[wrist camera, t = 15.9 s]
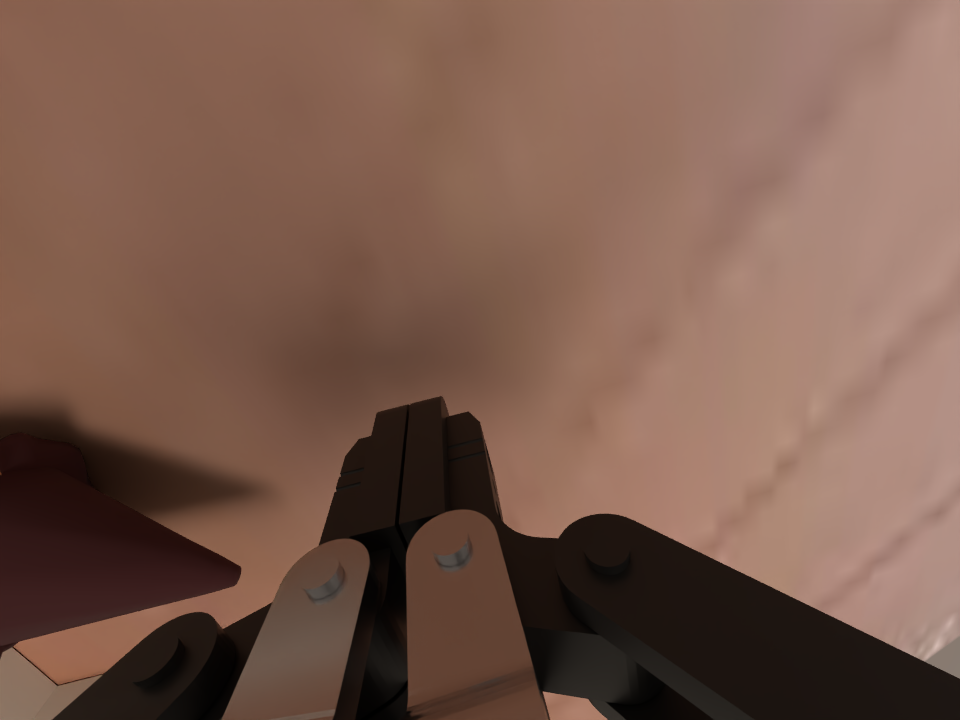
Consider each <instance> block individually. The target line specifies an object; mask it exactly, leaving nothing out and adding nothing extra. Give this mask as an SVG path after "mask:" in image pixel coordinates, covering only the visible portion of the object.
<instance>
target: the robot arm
mask: <svg viewBox="0 0 960 720" xmlns="http://www.w3.org/2000/svg"><path fill="white" fill-rule="evenodd" d="M340 474H341V477H339V479H338V483H337V486H336V492H335V493H334V496H333V500H332V503H331V506H330V510H329V513H328V516H327V520H326V523H325V526H324V530H323V533H322V536H321V540H320V543H319V546H318V547H316V548H314V549H312V550H311V551H309V552H308V553H307V554H305V555H304V556H303V557H302V558H300V559H299V560H298V561H297V562H296V563H295V564H294V565H293V566H292V568H291V569H290V570H289V571H288V573H287V574H286V576H285V577H284V579H283V580H282V582H281V584H280V586H279V589H278V591H277V593H276V595H275V598H274V600H273V602H272V603H270V604H269V605H267V606H265V607H263V608H261V609H259V610H258V611H256V612H254V613H252V614H250V615H248V616H246V617H245V618H243V619H241V620H239V621H237V622H235V623H233V624H231V625H230V626H228V627H226V628H224V629H222V628H221V626H220V625H219V624H218V623H217V622H216V620H215V619H214V618H213V617H212V616H211V615H209V614H208V613H203V612H194V613H189V614H185V615H182V616H179V617H177V618H175V619H173V620H171V621H169V622H167V623H165V624H164V625H162V626H160V627H159V628H158V629H156V630H155V631H153V632H152V633H151V634H149V635H148V636H147V637H146V638H144V639H143V640H142V641H141V642H140V643H139V644H137V645H136V646H135V647H134V648H133V649H132V650H131V651H129V652H128V653H127V654H126V655H125V656H124V657H123V658H121V659H120V660H119V661H118V662H117V663H116V664H115V665H114V666H112V667H111V668H110V669H109V670H108V671H107V672H106V673H104V674H103V675H102V676H101V677H100V678H99V679H98V680H96V681H95V682H94V683H93V684H92V685H91V686H90V687H88V688H87V689H86V690H85V691H84V692H83V693H82V694H81V695H79V696H78V697H77V698H76V699H75V700H74V701H73V702H71V703H70V704H69V705H68V706H67V707H66V708H65V709H63V710H62V711H61V712H60V713H59V714H58V715H57V716H55V717H54V718H53V719H52V720H550V716H549V713H548V709H547V705H546V702H545V698H544V694H543V691H544V692H550V693H556V694H562V695H568V696H574V697H580V698H586V699H589V701H590V702H591V703H592V705H593V706H594V707H595V708H596V709H597V710H598V711H599V712H600V713H601V714H602V715H603V716H605V717H606V718H607V719H608V720H960V679H959V678H957V677H955V676H953V675H951V674H949V673H947V672H945V671H943V670H940V669H938V668H936V667H934V666H932V665H930V664H928V663H926V662H924V661H922V660H920V659H918V658H916V657H914V656H912V655H910V654H908V653H906V652H903V651H901V650H899V649H897V648H895V647H893V646H891V645H889V644H887V643H885V642H883V641H881V640H879V639H877V638H875V637H873V636H871V635H868V634H866V633H864V632H862V631H860V630H858V629H856V628H854V627H852V626H850V625H848V624H846V623H844V622H842V621H840V620H838V619H836V618H834V617H831V616H829V615H827V614H825V613H823V612H821V611H819V610H817V609H815V608H813V607H811V606H809V605H807V604H805V603H803V602H801V601H799V600H796V599H794V598H792V597H790V596H788V595H786V594H784V593H782V592H780V591H778V590H776V589H774V588H772V587H770V586H768V585H766V584H764V583H761V582H759V581H757V580H755V579H753V578H751V577H749V576H747V575H745V574H743V573H741V572H739V571H737V570H735V569H733V568H731V567H729V566H726V565H724V564H722V563H720V562H718V561H716V560H714V559H712V558H710V557H708V556H706V555H704V554H702V553H700V552H698V551H696V550H694V549H692V548H689V547H687V546H685V545H683V544H681V543H679V542H677V541H675V540H673V539H671V538H669V537H667V536H665V535H663V534H661V533H659V532H657V531H654V530H652V529H650V528H648V527H646V526H644V525H642V524H640V523H638V522H636V521H634V520H631V519H629V518H627V517H623V516H619V515H614V514H595V515H590V516H586V517H583V518H581V519H579V520H577V521H575V522H573V523H572V524H570V525H569V526H568V527H567V528H566V529H565V530H564V531H563V532H562V534H561V535H560V537H559V538H539V537H531V536H527V535H523V534H520V533H518V532H516V531H514V530H512V529H511V528H509V527H508V526H507V525H506V524H504V522H503V517H502V512H501V507H500V502H499V497H498V492H497V486H496V481H495V476H494V472H493V468H492V465H491V461H490V457H489V454H488V450H487V446H486V443H485V439H484V436H483V432H482V428H481V425H480V422H479V421H478V420H477V419H476V418H475V417H474V416H473V415H472V414H471V413H469V412H465V413H461V414H457V415H453V416H449V414H448V410H447V407H446V404H445V401H444V399H443V397H442V396H440V397H436V398H432V399H428V400H424V401H420V402H416V403H412V404H410V405H409V404H408V405H404V406H400V407H396V408H392V409H388V410H384V411H380V412H377V414H376V418H375V422H374V426H373V431H372V435H371V436H369V437H365V438H361V439H359V440H358V441H357V442H356V443H355V445H354V446H353V447H352V448H351V450H350V451H349V452H348V454H347V455H346V456H345V459H344V463H343V466H342V469H341V473H340Z"/></svg>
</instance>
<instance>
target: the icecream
mask: <svg viewBox="0 0 960 720" xmlns="http://www.w3.org/2000/svg"><path fill="white" fill-rule="evenodd" d="M240 575H241V567H240V566H238V565H237V564H235V563H233V562H231V561H230V560H228V559H226V558H225V557H223V556H221V555H219V554H217V553H215V552H213V551H211V550H209V549H207V548H205V547H203V546H201V545H199V544H197V543H195V542H193V541H191V540H189V539H187V538H185V537H183V536H181V535H179V534H178V533H176V532H174V531H172V530H170V529H168V528H166V527H164V526H163V525H161V524H159V523H157V522H155V521H153V520H151V519H150V518H148V517H146V516H144V515H142V514H140V513H138V512H137V511H135V510H133V509H131V508H129V507H127V506H125V505H124V504H122V503H120V502H118V501H116V500H114V499H112V498H110V497H109V496H107V495H105V494H103V493H101V492H99V491H97V490H96V489H94V488H93V486H92V484H91V482H90V480H89V478H88V474H87V471H86V467H85V463H84V460H83V456H82V454H81V452H80V449H79V448H78V447H76V446H74V445H72V444H70V443H65V442H58V441H51V440H44V439H38V438H35V437H33V436H30V435H28V434H25V433H16V434H11V435H9V436H7V437H5V438H3V439H1V440H0V659H1V656H2V653H3V652H4V651H6V650H8V649H10V648H12V647H13V646H14V645H15V644H17V643H18V642H19V641H23V640H27V639H31V638H34V637H38V636H42V635H46V634H50V633H54V632H58V631H62V630H66V629H70V628H74V627H78V626H82V625H86V624H89V623H93V622H97V621H101V620H105V619H109V618H113V617H117V616H121V615H125V614H129V613H133V612H137V611H141V610H144V609H148V608H152V607H156V606H160V605H164V604H168V603H172V602H176V601H180V600H184V599H188V598H192V597H196V596H200V595H204V594H208V593H212V592H216V591H219V590H222V589H226V588H229V587H232V586H235V585H236V584H237V582H238V580H239V578H240Z"/></svg>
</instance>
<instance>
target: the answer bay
mask: <svg viewBox="0 0 960 720" xmlns="http://www.w3.org/2000/svg"><path fill="white" fill-rule="evenodd" d="M101 676H102V675H99V676H95V677H91V678H87V679H83V680H79V681H75V682H71V683H67V684H63V685H59V686H57V685H56V684H54V683H53V682H52V681H51V680H50V679H49V678H47V677H46V676H45V675H44V674H43V673H42V672H40V671H39V670H38V669H37V668H36V667H35V666H33V665H32V664H31V663H30V662H29V661H27V660H26V659H25V658H24V657H23V656H22V655H20V654H19V653H18V652H17V651H16V650H15V649H13V648H10V649H8V650H6V651H4V652H3V653H2V656H1V659H0V720H52V719H53V718H54V717H55V716H57V715H58V714H59V713H60V712H61V711H62V710H63V709H65V708H66V707H67V706H68V705H69V704H70V703H71V702H73V701H74V700H75V699H76V698H77V697H78V696H79V695H81V694H82V693H83V692H84V691H85V690H86V689H87V688H88V687H90V686H91V685H92V684H93V683H94V682H95V681H96V680H98V679H99V678H100V677H101Z"/></svg>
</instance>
